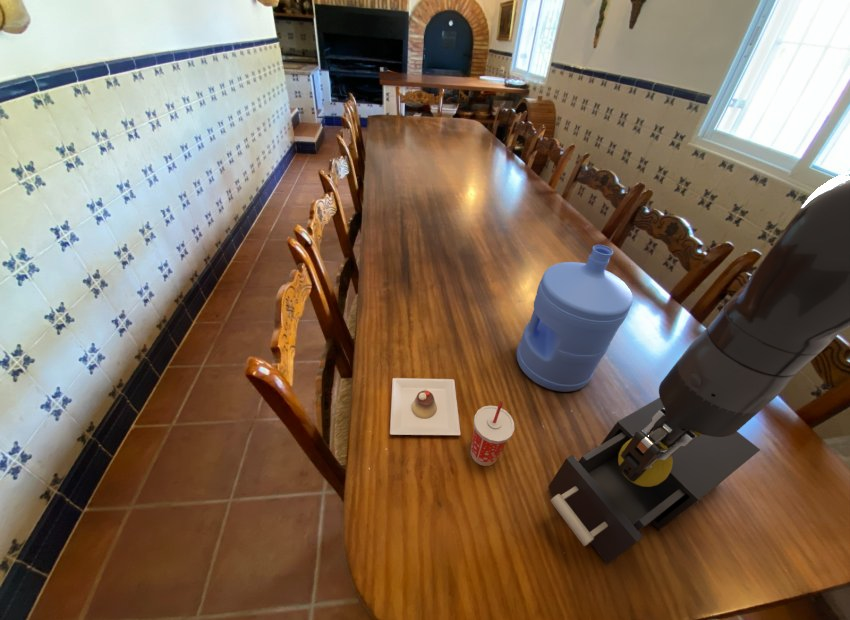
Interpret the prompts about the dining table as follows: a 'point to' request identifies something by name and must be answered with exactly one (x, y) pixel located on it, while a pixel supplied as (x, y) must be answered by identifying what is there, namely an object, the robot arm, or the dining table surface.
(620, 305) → the water jug
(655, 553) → the dining table surface
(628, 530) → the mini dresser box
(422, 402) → the dessert
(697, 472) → the dark drawer cabinet
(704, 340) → the robot arm
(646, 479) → the lemon
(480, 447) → the beverage cup
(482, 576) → the dining table surface
